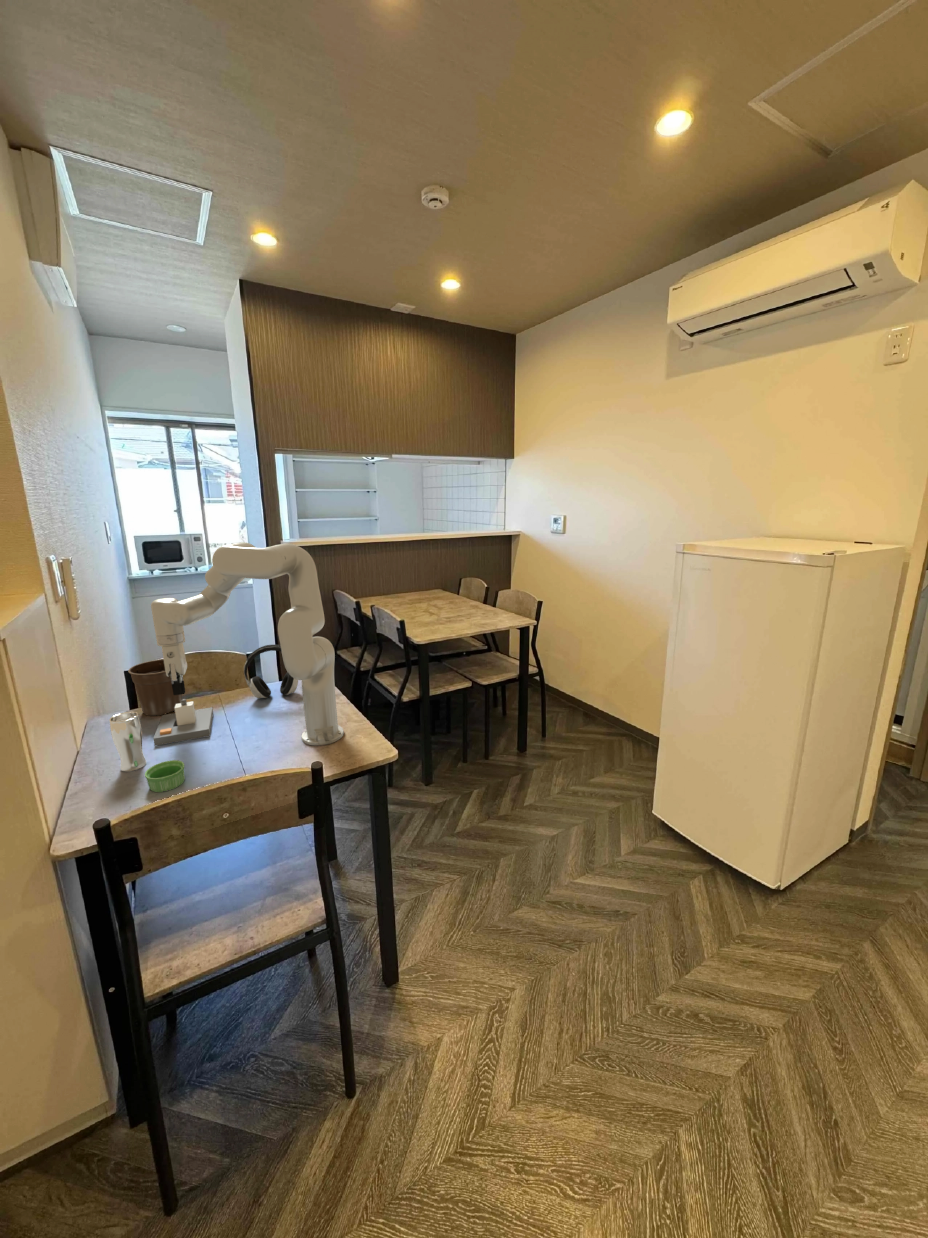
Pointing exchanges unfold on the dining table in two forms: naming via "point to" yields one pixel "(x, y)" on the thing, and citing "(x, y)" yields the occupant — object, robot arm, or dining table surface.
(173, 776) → the ramekin
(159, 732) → the socket
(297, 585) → the robot arm
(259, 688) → the headphones
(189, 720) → the plug
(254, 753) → the dining table surface
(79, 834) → the dining table surface
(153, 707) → the plant pot
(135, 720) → the beer glass
